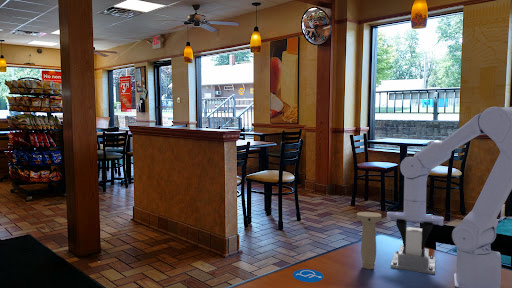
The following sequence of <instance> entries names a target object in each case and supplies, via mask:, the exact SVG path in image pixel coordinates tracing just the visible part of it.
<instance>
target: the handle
mask: <svg viewBox="0 0 512 288" xmlns="http://www.w3.org/2000/svg"><path fill="white" fill-rule="evenodd" d="M356 218H357V220H358V221H360V222H362V228H361V229H362V230H361V231H362V232H361V244H360V246H361V249H360V251H361V262H362V268H363V269H366V270H374V269H375V268H376V267H375V266H376V264H375V263H376V258H377V235H376V226H377V225H376V223H378V222H381V221H382V214H381V213H379V212H372V211H360V212H357V213H356Z"/></svg>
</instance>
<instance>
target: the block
mask: <svg viewBox="0 0 512 288" xmlns="http://www.w3.org/2000/svg"><path fill="white" fill-rule="evenodd" d="M421 245H422V228H420V227H410V226H407V227H406V254H410V255H418V256H421V255H422V249H421Z"/></svg>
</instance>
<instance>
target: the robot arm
mask: <svg viewBox="0 0 512 288" xmlns="http://www.w3.org/2000/svg"><path fill="white" fill-rule="evenodd" d="M481 135H487V136H488V137H489V138H490V139H491V140H492V141H493V142H494V143H495V145H496V146H497V148H498V149H499V150H498V151H499V154H498V157H497V158H496V161H495V162H494V165H493V167H492V169H491V171H490V173H489V175H488V176H487V178H486V181H485V183H484V185H483V187H482V189H481V192H480V194H479V196H478V198H477V199H476V201H475V204H474V206H473V208H472V210H470V211H469V213H468V214H467V215H466V216H465V217H463V219H462V221H461V222H460V224H459V225H457V226H455V227H454V228H453V230H452V232H451V239H452V242H453V243H454V245H455V246H456V269H455V270H456V271H455V273H453V280H454V287H455V288H501V284H502V256H501V252H499V251H494V250H492V248H491V247H492V246H491V244H492V243H493V242H494V241H495V239H496V237H497V226H498V225H499V221H498V219H497V218H498V216H499V214H500V213H501V211H502V208H503V207H504V204H505V203H506V201H507V199H508V197H509V195H510V193H511V192H512V106H507V107H501V106H500V107H499V106H491V107H487V108H486V109H485V110H483V111H482V112H481V113H477V114H476V115H474V116H473V117H472V118H471V119H470V120H469V121H467V122H466V123H464V124H463V125H461V127H459V128H457V129H456V130H455V131H454V132H453V133H451V134H450V135H449V136H448V137H446V138H445V139H444V140H438V139H437V140H430V141H428V142H427V143H426V144H427V146H425V147H424V148H423V149H421V150H419V151H416V152H414V155H413V156H406V157H404V158H403V159H402V161H401V162H400V165H399V168H400V170H399V171H400V173H401V174H402V176H404V178H403V180H404V181H403V211H387V213H386V221H391V220H393V221H396V222H395V224H396V225H395V226H396V227H397V229H398V231H399V234H400V236H401V240H402V246H403V247H406V229H407V227H408V226H407V225H408V224H407V223H408V222H411V223H412V222H413V223H419V224H420V223H421V224H422V228H421V229H422V245H421V249H423V250H424V248H425V245H426V242H427V240H428V236H429V235H430V233H431V231H432V229H433V225H439V226H441V227H442V226H444V217H443V216H438V215H432V214H427V182H428V176H429V175H430V173H431V172H432V170H433V169H435V168H436V167H438V166H440V165H441V164H443V163H445V162H447V161H448V160H449V159H451V156H452V153H453V152H452V151H454V150H457V148H459V147H461V146H464V145H465V144H466V143H468V142H470V141H471V140H473V139H475V138H477V137H478V136H481Z"/></svg>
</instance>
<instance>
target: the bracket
mask: <svg viewBox="0 0 512 288" xmlns="http://www.w3.org/2000/svg"><path fill="white" fill-rule="evenodd" d="M390 268H391V269H397V270H405V271H411V272H417V273H423V274H429V275H430V274H431V275H436V256H434V255H430V248H425V247H424V250H423V249H422V255H421V256H418V255H410V254H406V247H403V245H400V247H399V250H397V251H394V254H393V257H392V260H391V263H390Z"/></svg>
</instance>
